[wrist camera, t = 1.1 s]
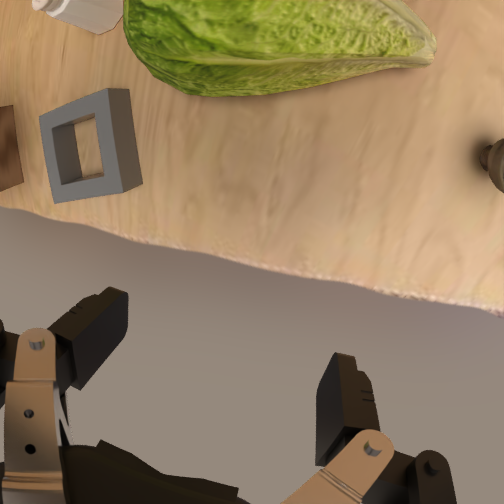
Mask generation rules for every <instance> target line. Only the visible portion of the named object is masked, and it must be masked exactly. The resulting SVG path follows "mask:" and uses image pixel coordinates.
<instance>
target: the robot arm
mask: <svg viewBox="0 0 504 504" xmlns="http://www.w3.org/2000/svg"><path fill="white" fill-rule="evenodd" d="M127 328H128V293H127V292H124V291H121V290H119V289H116V288H113V287H108V288H106V289H105V290H104V291H103V292H102V293H100V294H99V295H96V294H94V295H91V296H89V297H86V298H84V299H82V300H81V301H80V302H79V303H77V304H76V306H74V307H72V308H71V309H70V310H69V312H66V313H65V314H64V315H63V316H62V317H60V319H58V320H57V321H56V322H54V323H53V324H52V325H51V326H50V327H49V328H47V329H43V328H32V329H28V330H26V331H25V332H23V333H22V334H21V335H18V334H14V333H10V332H6V331H5V330H4V326H3V322H2V320H1V319H0V409H1V407H2V406H3V405H4V404H5V412H4V462H1V463H0V504H250V503H249V502H247V501H245V500H243V499H241V498H239V497H237V494H238V489H239V488H237V487H233V486H228V485H224V484H220V483H217V482H213V481H209V480H206V479H201V478H189V477H179V476H172V475H165V474H162V473H160V472H159V471H157V470H156V469H154V468H153V467H151V466H149V465H148V464H146V463H145V462H143V461H142V460H141V459H139V458H138V457H136V456H135V455H133V454H132V453H130V452H127V451H125V450H122V449H120V448H118V447H116V446H114V445H112V444H109V443H107V442H105V441H103V440H100V441H99V443H98V445H97V446H96V447H94V446H87V445H74V442H73V438H72V432H71V425H70V418H69V409H68V400H67V392H66V390H67V389H68V388H69V386H70V385H71V386H72V387H74V388H76V389H78V390H81V389H82V388H83V387H84V386H85V384H86V383H87V382H88V381H89V379H90V378H91V377H92V376H93V375H94V373H95V372H96V371H97V370H98V368H99V367H100V366H101V365H102V364H103V362H104V361H105V360H106V359H107V358H108V356H109V355H110V354H111V353H112V352H113V351H114V349H115V348H116V347H117V346H118V344H119V343H120V342H121V341H122V340H123V338H124V337H125V334H126V332H127ZM315 465H316V466H323V467H325V468H324V469H322V470H319V471H318V472H317V473H316V474H315V475H313V476H312V477H311V478H310V479H309V480H308V481H307V482H306V483H304V484H303V485H302V486H301V487H300V488H299V489H298V490H296V491H295V492H294V493H293V494H292V495H290V496H289V497H288V498H287V499H286V500H284V501H283V502H282V503H281V504H360V503H363V504H457V502H456V496H455V491H454V486H453V481H452V476H451V471H450V467H449V464H448V462H447V460H446V459H445V457H444V456H443V455H441V454H440V453H438V452H436V451H433V450H426V451H423V452H421V453H420V454H419V455H418V456H417V457H416V458H415V457H412V456H409V455H406V454H403V453H400V452H397V451H395V450H394V446H393V444H392V442H391V440H390V439H389V438H388V437H387V436H386V435H384V434H383V433H381V432H380V426H379V420H378V415H377V409H376V404H375V402H374V395H373V389H372V385H371V381H370V380H369V378H368V377H367V375H366V374H365V372H363V371H358V370H357V365H356V360H355V357H354V356H350V355H346V354H341V353H336V352H335V353H334V354H333V356H332V358H331V360H330V362H329V364H328V366H327V368H326V370H325V372H324V374H323V376H322V379H321V381H320V383H319V386H318V389H317V395H316V458H315Z"/></svg>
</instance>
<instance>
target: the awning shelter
mask: <svg viewBox="0 0 504 504" xmlns="http://www.w3.org/2000/svg"><path fill="white" fill-rule="evenodd" d="M23 182H24V179H23V174H22V169H21V164H20V158H19V152H18V145H17V139H16V131H15V123H14V113H13V105H11V106H5V107H0V191H3V190H5V189H8V188H10V187H13V186H15V185H18V184H20V183H23Z"/></svg>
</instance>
